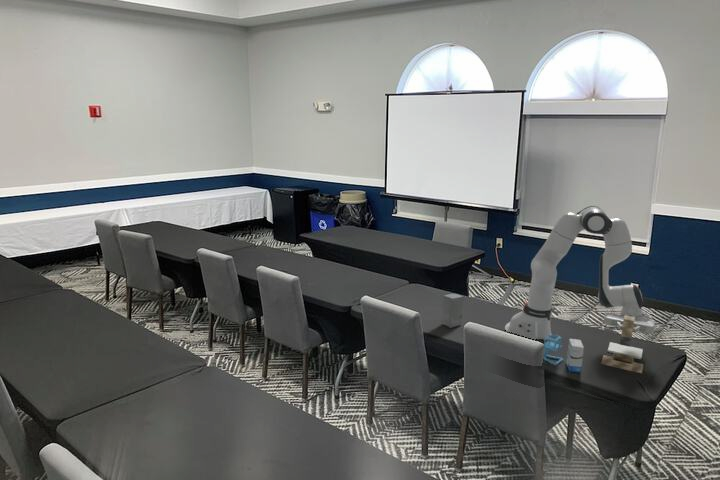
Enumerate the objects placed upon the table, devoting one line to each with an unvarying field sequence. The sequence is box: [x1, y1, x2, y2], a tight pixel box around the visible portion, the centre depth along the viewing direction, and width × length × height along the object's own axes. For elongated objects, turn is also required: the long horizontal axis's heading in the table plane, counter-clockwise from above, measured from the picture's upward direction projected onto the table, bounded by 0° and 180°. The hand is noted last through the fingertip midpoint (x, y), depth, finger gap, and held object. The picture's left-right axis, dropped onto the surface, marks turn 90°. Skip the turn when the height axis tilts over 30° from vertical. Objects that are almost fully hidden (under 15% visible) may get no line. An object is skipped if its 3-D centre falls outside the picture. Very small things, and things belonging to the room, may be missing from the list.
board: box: [607, 341, 644, 360], centre depth 244 cm, size 14×10×1 cm
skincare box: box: [441, 293, 464, 329], centre depth 269 cm, size 8×7×16 cm
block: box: [619, 315, 635, 347], centre depth 228 cm, size 4×5×12 cm
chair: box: [542, 334, 564, 367], centre depth 234 cm, size 8×8×12 cm
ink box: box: [565, 338, 585, 373], centre depth 227 cm, size 8×5×12 cm, turn 168°
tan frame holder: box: [600, 352, 644, 375], centre depth 232 cm, size 16×9×3 cm, turn 59°
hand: (627, 329), depth 227 cm, fingers closed on block, 4 cm apart
